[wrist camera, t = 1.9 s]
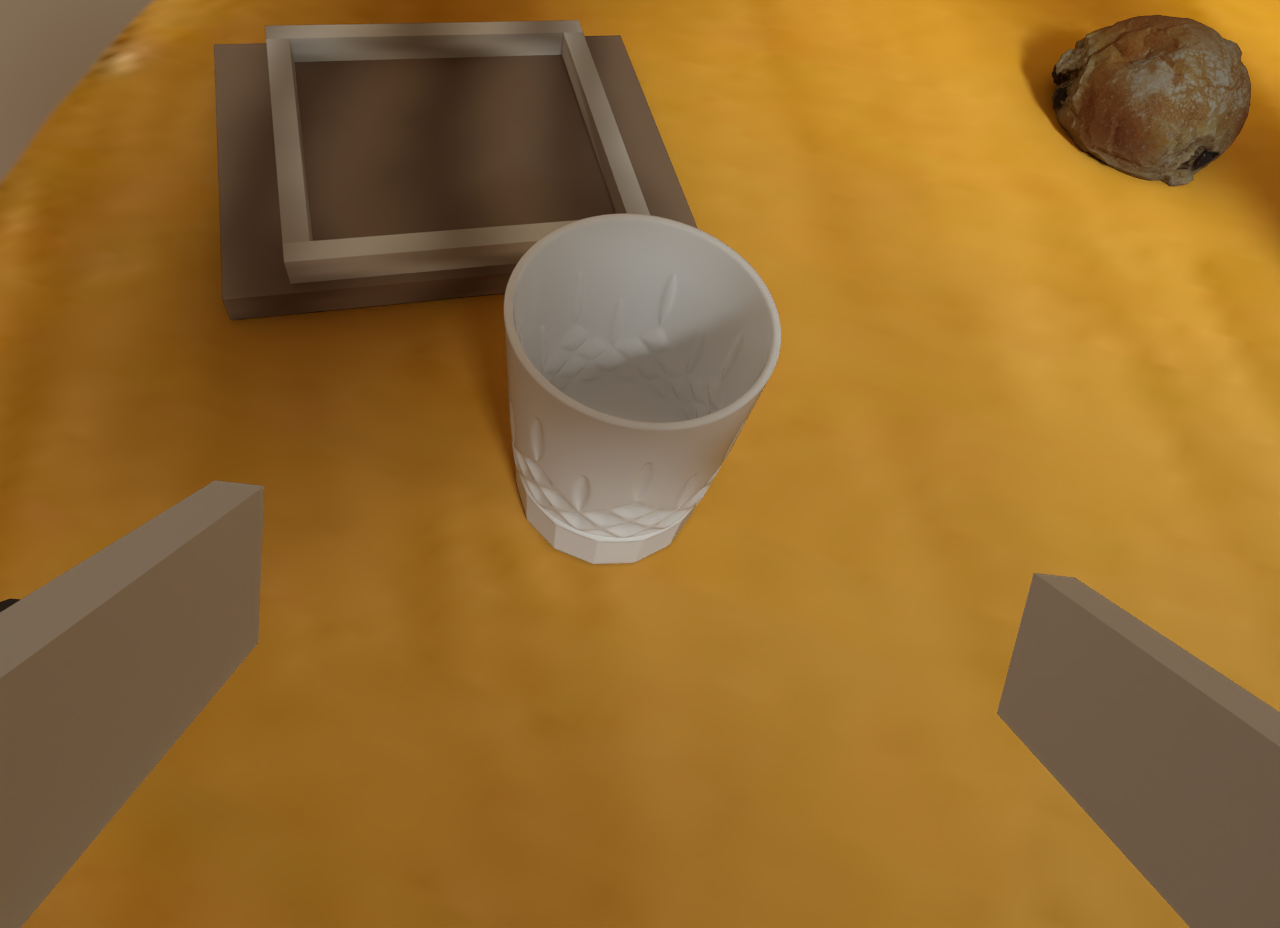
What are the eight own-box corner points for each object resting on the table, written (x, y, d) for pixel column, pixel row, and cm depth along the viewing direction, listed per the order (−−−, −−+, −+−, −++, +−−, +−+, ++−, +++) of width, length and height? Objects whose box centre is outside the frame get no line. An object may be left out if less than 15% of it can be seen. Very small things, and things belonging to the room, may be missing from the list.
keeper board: (617, 55, 46) (623, 13, 44) (702, 273, 39) (713, 234, 37) (221, 67, 41) (206, 20, 39) (230, 320, 34) (213, 278, 32)
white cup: (458, 473, 32) (444, 289, 23) (611, 369, 35) (647, 177, 27) (600, 625, 29) (642, 483, 21) (749, 497, 33) (836, 332, 24)
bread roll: (1080, 237, 50) (1216, 175, 43) (1002, 79, 49) (1126, -12, 42) (1171, 184, 54) (1310, 118, 47) (1100, 37, 53) (1229, -52, 46)
